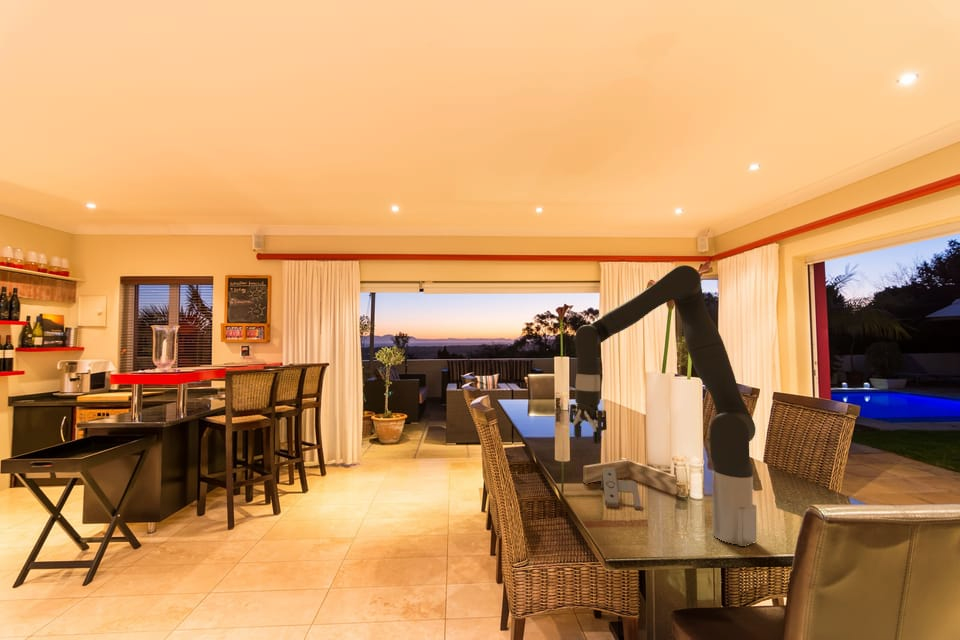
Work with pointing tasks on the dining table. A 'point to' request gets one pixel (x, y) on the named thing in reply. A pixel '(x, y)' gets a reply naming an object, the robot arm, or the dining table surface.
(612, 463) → the wooden corner joint
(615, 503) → the bracket
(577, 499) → the dining table surface
